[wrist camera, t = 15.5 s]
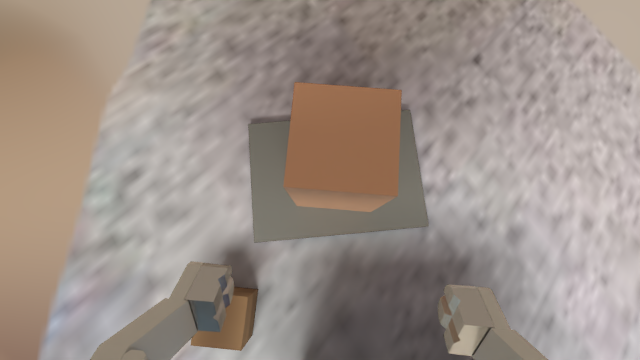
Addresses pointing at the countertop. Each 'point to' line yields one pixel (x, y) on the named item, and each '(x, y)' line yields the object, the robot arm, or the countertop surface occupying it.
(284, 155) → the slate mat
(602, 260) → the countertop surface
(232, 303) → the walnut block
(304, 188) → the peach square-faced block
